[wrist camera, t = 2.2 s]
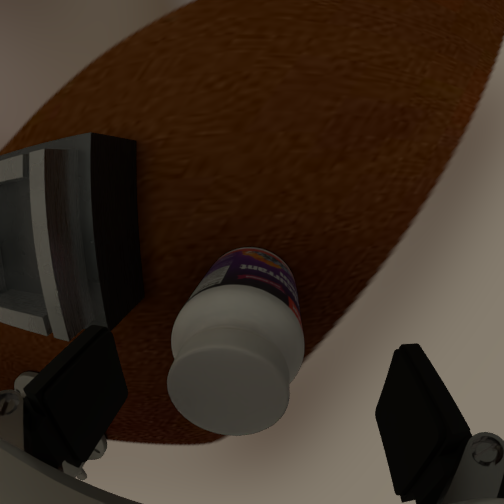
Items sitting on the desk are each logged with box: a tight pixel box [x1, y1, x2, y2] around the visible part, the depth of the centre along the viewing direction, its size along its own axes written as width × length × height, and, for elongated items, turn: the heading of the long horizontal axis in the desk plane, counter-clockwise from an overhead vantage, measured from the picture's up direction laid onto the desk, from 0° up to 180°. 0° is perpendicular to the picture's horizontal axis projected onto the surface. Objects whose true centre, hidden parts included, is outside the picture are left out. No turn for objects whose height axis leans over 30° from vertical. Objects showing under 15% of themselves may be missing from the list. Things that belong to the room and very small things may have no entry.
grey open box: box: [0, 133, 145, 341], centre depth 14 cm, size 10×10×8 cm
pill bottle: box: [167, 247, 304, 436], centre depth 13 cm, size 5×5×10 cm
